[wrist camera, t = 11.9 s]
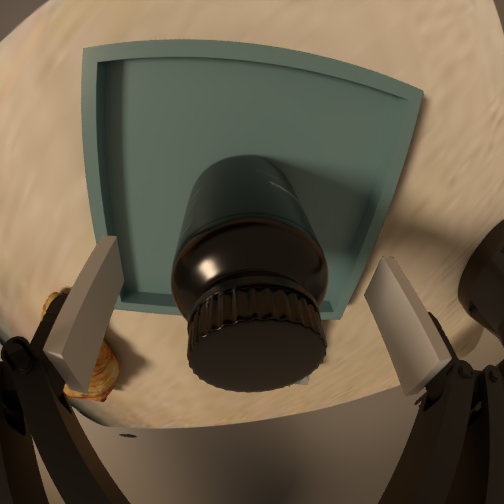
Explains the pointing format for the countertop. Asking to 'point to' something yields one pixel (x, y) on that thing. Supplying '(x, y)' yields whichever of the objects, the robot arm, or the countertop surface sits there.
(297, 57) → the tray
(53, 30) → the countertop surface
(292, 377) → the supplement bottle
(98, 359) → the croissant
